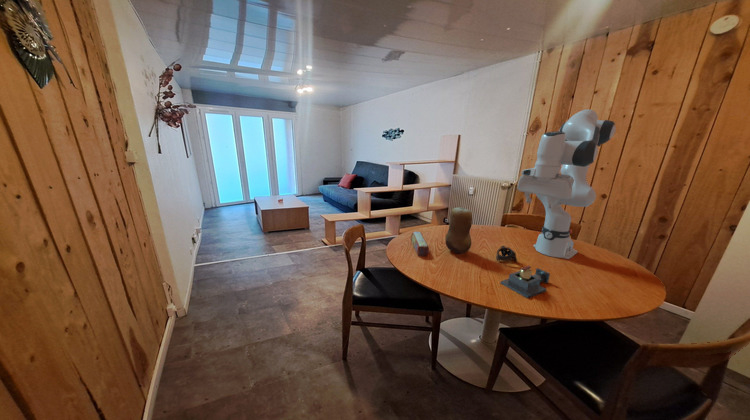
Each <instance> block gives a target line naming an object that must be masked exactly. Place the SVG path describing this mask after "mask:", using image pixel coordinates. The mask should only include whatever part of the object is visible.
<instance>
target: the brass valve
mask: <svg viewBox="0 0 750 420" xmlns="http://www.w3.org/2000/svg"><path fill="white" fill-rule="evenodd" d="M531 268H532V266H531V265H526V266H524V267H521V268H520V270H519V271H520V275H519V277H520V278H522V279H524V280H526V281H530V278H531V275H533V274H532V273H533V270H532V269H531Z"/></svg>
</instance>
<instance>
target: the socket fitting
mask: <svg viewBox="0 0 750 420" xmlns="http://www.w3.org/2000/svg"><path fill="white" fill-rule="evenodd" d="M519 275H520V270H518V271H515V272H512V273H510V274H509V277H508V278H506V279H502V280H501V281H500V284H501V285H503V286H504V287H506V288H509V289H510V290H512V291H513V292H516V293H517V294H519V295H521V296H522V297H524V298H526V299H531V298H533V297H536V296H538V295H540V294H543V293H546V292H547V288H545V287H544V286H542V285H540V284H541V283H542V282H543V283H544V284H549V280H550V275H551V273H549V272H547V271H545V270H543V269H541V268H536V270H535V273H534V274H531V278H530V281H526V280H524V279H522V278H520V277H519Z"/></svg>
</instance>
